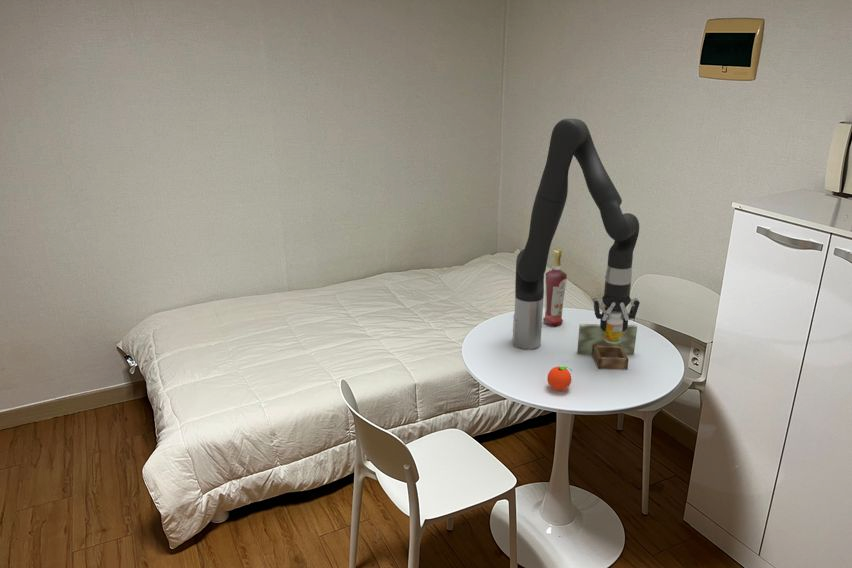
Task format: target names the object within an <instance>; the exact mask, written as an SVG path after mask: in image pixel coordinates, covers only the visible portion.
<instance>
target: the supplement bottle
mask: <svg viewBox="0 0 852 568" xmlns="http://www.w3.org/2000/svg"><path fill="white" fill-rule="evenodd" d="M621 316H622V312H619V311H614V312H611V313H610V314H609V315H608V317H607V319H606V331H604V340H605V341H606V342H608V343H613V344H615V343H619V342H621V339H622V329H623V319H622V318H621Z"/></svg>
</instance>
